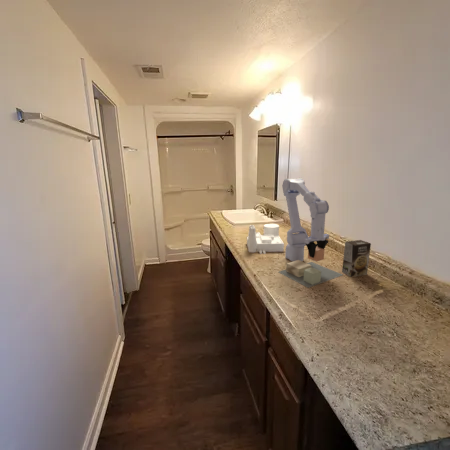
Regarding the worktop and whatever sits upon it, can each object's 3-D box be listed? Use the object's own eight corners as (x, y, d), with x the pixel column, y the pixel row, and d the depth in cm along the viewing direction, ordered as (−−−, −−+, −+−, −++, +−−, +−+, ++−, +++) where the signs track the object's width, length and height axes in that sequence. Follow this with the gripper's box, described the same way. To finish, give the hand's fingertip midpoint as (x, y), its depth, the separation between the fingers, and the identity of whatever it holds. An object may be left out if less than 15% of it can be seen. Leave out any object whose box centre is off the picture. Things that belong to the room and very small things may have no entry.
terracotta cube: (307, 258, 125) (308, 248, 124) (315, 256, 127) (315, 246, 126) (316, 261, 121) (317, 251, 119) (323, 259, 123) (324, 249, 122)
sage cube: (303, 280, 118) (304, 269, 117) (311, 277, 120) (312, 267, 119) (312, 284, 114) (313, 273, 112) (320, 281, 116) (321, 271, 115)
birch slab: (286, 271, 128) (286, 263, 127) (298, 267, 132) (298, 259, 131) (298, 277, 121) (298, 269, 120) (310, 273, 125) (311, 265, 124)
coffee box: (351, 279, 120) (354, 245, 116) (341, 273, 126) (344, 241, 122) (367, 276, 122) (371, 243, 118) (357, 271, 128) (360, 239, 125)
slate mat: (277, 273, 127) (277, 271, 127) (311, 263, 139) (311, 261, 138) (308, 289, 111) (308, 287, 111) (343, 276, 123) (343, 274, 122)
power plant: (290, 254, 154) (291, 229, 150) (249, 254, 154) (249, 230, 150) (279, 236, 187) (279, 216, 184) (245, 237, 188) (245, 217, 184)
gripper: (313, 232, 113) (311, 261, 117) (335, 226, 121) (333, 255, 124) (301, 228, 119) (299, 256, 123) (322, 223, 127) (320, 250, 130)
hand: (315, 255), depth 124 cm, fingers closed on terracotta cube, 5 cm apart
